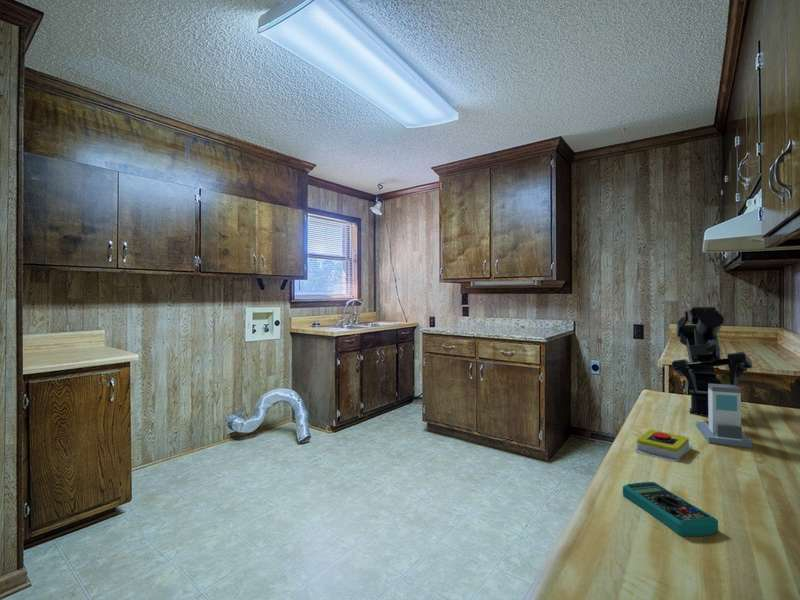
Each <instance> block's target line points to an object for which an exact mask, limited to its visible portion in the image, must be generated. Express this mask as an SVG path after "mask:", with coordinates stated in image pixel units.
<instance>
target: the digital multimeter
mask: <svg viewBox="0 0 800 600" xmlns="http://www.w3.org/2000/svg"><path fill="white" fill-rule="evenodd" d="M622 496H623V497H625V498H626V499H628V501H630V502H632V503H633V504H635V505H637V506H638V507H639V508H641V509H643V511H645V512H646V513H648V514H650V515H651V516H653V517H654V518H655V519H656V520H658V521H659V520H660V521H659V522H660V523H662V524H664V526H666V525H667V526H666V527H668V528H669V529H670V530H671V531H673V532H674V533H676V534H677V535H679V536H680V537H703V536H709V535H713V534H715V533H717V532H719V520H718V519H717V518H715V517H714V516H713V515H711V514H709V513H708V512H706V511H704V510H702V509H701V508H699V507H697V506H695V505H694V504H692V503H690V502H688V501H686V500H684V499H683V498H682V497H679V496H678V495H676V494H675V493H674V492H671V491H670V490H668V489H666V488H665V487H663V486H661V485H660V484H658V483H657V482H656V481H645V482H644V481H643V482H634V483H628V484H625V485H623V486H622Z"/></svg>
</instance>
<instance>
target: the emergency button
mask: <svg viewBox="0 0 800 600" xmlns="http://www.w3.org/2000/svg"><path fill="white" fill-rule="evenodd" d="M689 441H690V440H689V437H687V436H683V435H679V434H674V433H668V432H665V431H663V432H662V431H659V430H656V429H655V430H654V429H649V430H648V431H647V432H645V433H643V434H642V435H641V436H639V437H637V440H636V449H634V452H635V453H636V454H640V453H641V454H640V455H644V454H645V456H648V455H649V456H648V457H652V456H653V458H656V457H657V458H658V459H661V458H662V459H661V460H664V461H670V462H673V461H674V462H679V460H680V459H681V458H683V457H684V455H685V454H686V453H687V452H688V451H690V449H691V448H692V445H691V444H690V442H689ZM674 462H673V463H674Z"/></svg>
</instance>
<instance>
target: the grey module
mask: <svg viewBox="0 0 800 600" xmlns="http://www.w3.org/2000/svg"><path fill="white" fill-rule="evenodd" d="M741 391H742V388H740V387H739V386H737V385H730V384H724V383H723V384H709V383H708V412H709V416H708V421H709V429H710V430H711V432H712V433H716V434H717V424H723V425H733V426H741V427H742V410H741V409H742V408H741V407H742V405H741V404H742V401H741V400H742V399H741V397H742V394H741Z"/></svg>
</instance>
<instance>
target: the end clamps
mask: <svg viewBox="0 0 800 600" xmlns="http://www.w3.org/2000/svg"><path fill="white" fill-rule="evenodd" d="M742 433H743V427H742V425H741V426H733V425H723V424H717V436H718V437H726V438H735V439H742Z"/></svg>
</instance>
